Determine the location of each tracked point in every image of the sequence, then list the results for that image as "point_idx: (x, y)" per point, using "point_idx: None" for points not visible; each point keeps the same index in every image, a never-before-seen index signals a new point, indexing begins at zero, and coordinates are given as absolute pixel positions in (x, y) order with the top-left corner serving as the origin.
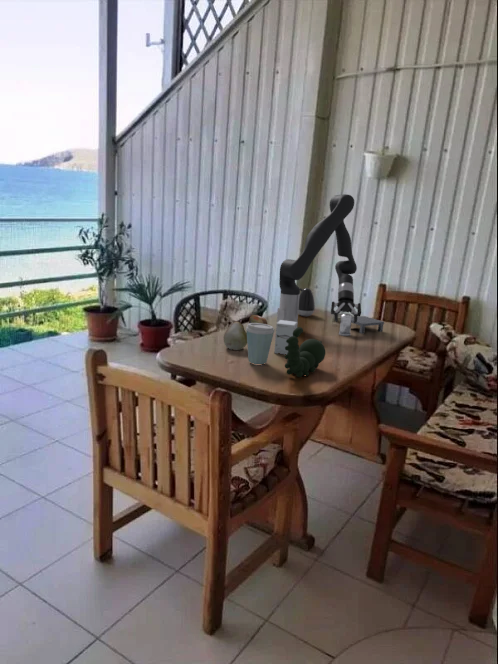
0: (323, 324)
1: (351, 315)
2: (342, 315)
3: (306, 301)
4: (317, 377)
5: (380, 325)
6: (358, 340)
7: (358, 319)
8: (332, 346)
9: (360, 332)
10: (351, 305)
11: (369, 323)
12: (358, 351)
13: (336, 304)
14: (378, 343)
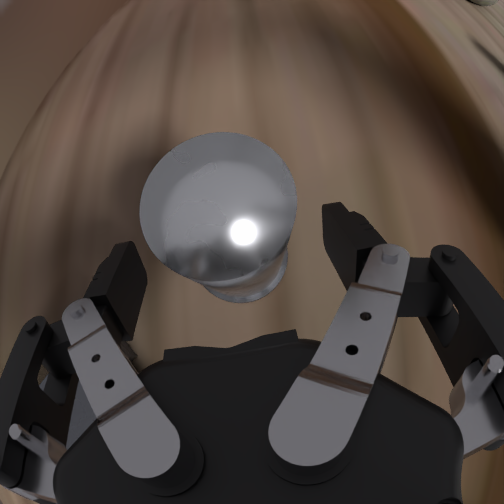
0: None
1: (145, 205)
2: (270, 148)
3: None
4: None
5: None
6: (148, 143)
7: None
8: (275, 16)
9: (128, 348)
10: (99, 419)
11: (43, 382)
12: (172, 12)
13: (462, 415)
14: (61, 146)
